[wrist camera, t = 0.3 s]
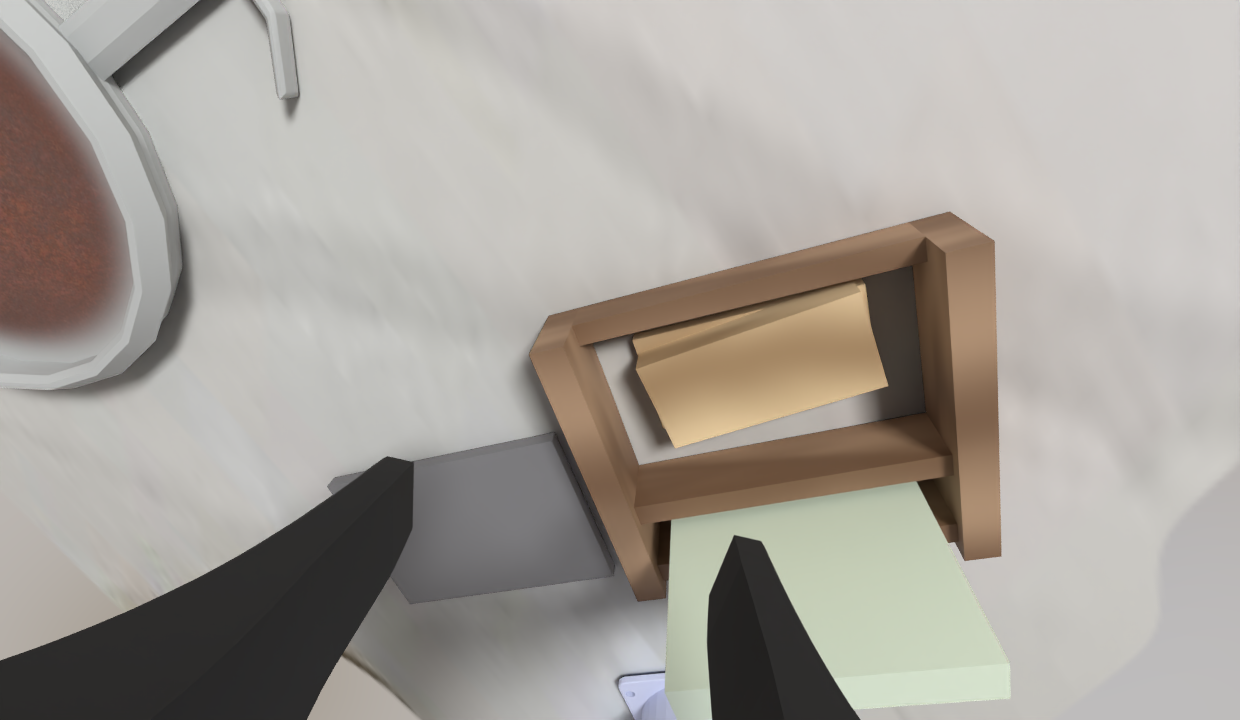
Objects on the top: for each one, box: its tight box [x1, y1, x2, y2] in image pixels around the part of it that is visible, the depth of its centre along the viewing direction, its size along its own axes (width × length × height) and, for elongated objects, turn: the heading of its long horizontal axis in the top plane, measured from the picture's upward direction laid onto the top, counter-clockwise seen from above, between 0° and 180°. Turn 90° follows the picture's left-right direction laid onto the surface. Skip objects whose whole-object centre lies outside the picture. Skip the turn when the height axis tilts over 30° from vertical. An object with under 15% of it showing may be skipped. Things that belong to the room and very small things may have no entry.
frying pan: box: [0, 0, 299, 390], centre depth 18 cm, size 17×3×28 cm
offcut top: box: [636, 280, 888, 448], centre depth 20 cm, size 4×8×1 cm, turn 115°
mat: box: [327, 432, 615, 604], centre depth 26 cm, size 8×11×1 cm
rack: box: [529, 212, 1001, 602], centre depth 21 cm, size 12×14×3 cm
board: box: [665, 481, 1010, 720], centre depth 20 cm, size 2×9×9 cm, turn 108°
